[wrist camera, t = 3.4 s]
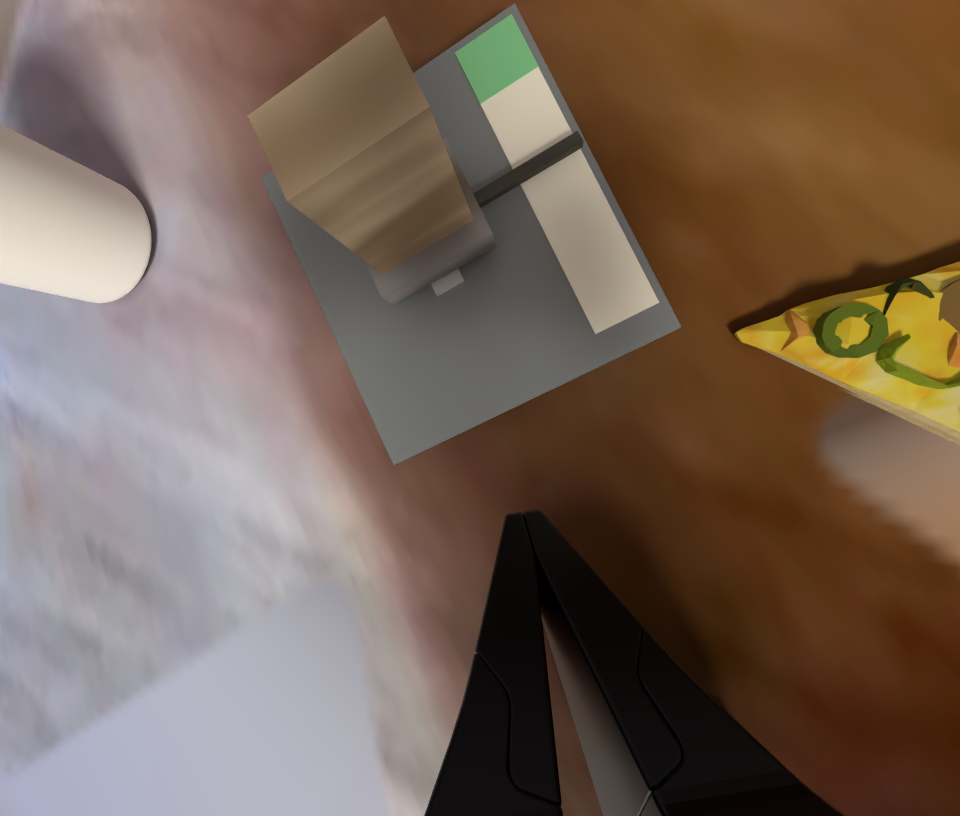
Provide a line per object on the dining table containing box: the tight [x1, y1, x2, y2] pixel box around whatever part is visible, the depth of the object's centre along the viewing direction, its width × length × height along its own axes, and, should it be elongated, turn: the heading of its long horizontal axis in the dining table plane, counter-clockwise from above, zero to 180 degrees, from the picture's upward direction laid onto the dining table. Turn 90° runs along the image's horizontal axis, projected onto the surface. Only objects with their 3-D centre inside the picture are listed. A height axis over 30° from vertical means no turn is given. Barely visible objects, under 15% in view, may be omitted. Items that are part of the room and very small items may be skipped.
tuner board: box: [261, 3, 681, 465], centre depth 20 cm, size 18×16×2 cm
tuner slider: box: [248, 16, 584, 305], centre depth 14 cm, size 5×12×8 cm, turn 116°
